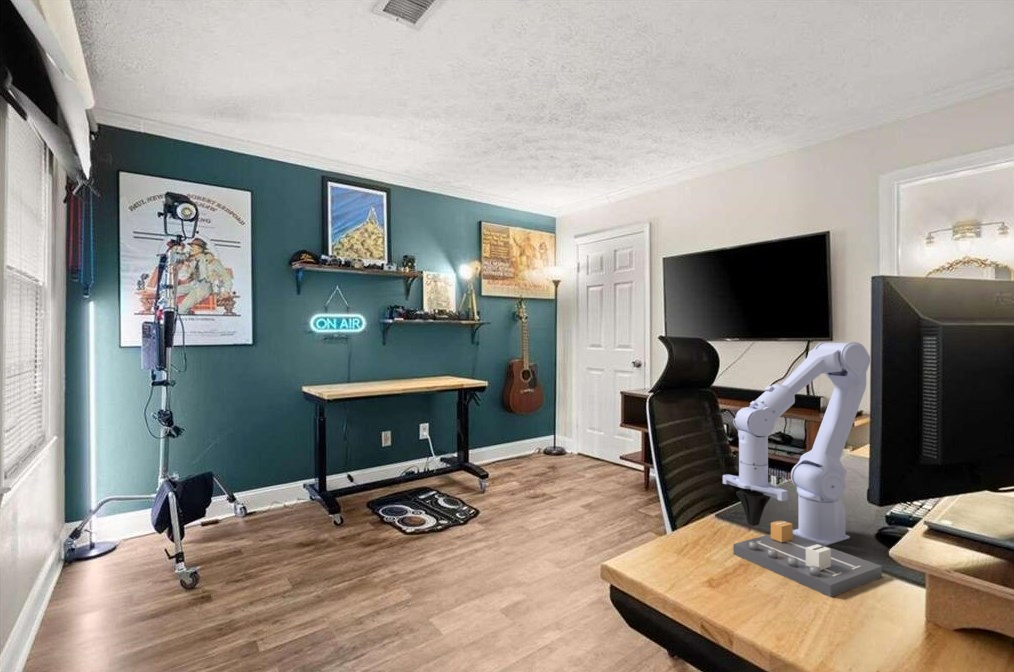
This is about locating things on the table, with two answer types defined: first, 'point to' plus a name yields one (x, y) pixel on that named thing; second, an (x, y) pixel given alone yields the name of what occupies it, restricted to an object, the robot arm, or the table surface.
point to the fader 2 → (818, 556)
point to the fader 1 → (781, 531)
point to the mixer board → (792, 565)
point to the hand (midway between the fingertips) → (753, 524)
